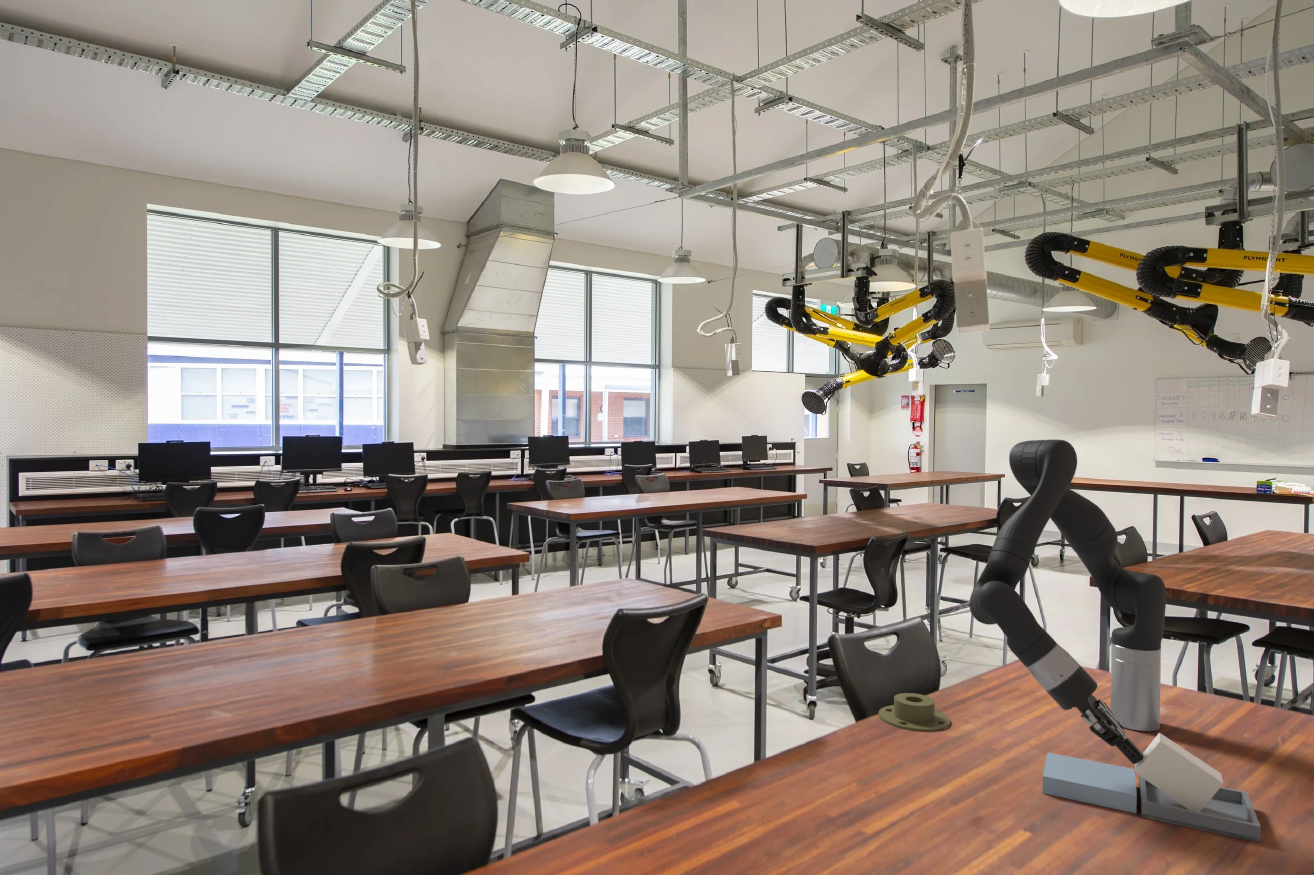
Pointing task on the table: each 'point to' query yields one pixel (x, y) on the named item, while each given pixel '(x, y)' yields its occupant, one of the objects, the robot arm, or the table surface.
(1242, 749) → the table surface
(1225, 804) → the tray
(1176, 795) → the white rectangular block
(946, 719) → the flange
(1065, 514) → the robot arm
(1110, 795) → the plate
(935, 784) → the table surface
